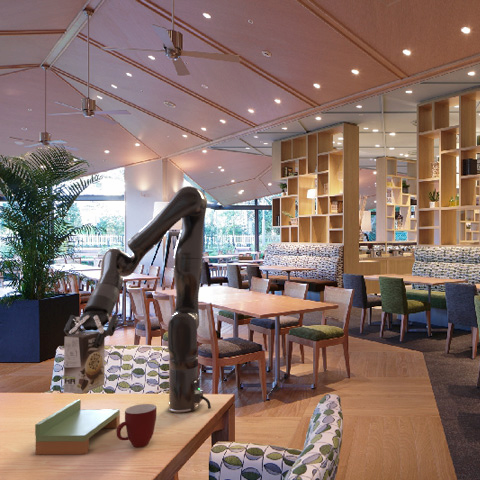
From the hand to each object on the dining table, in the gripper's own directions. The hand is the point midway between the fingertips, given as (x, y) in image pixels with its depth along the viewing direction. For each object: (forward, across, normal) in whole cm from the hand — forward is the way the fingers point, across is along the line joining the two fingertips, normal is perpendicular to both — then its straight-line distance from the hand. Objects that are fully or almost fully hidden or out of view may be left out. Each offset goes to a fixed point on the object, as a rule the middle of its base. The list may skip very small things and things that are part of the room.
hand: (82, 346), depth 141 cm
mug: (+23, +18, +14) cm, 33 cm away
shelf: (+19, 0, +18) cm, 26 cm away
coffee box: (+8, 0, +10) cm, 13 cm away
